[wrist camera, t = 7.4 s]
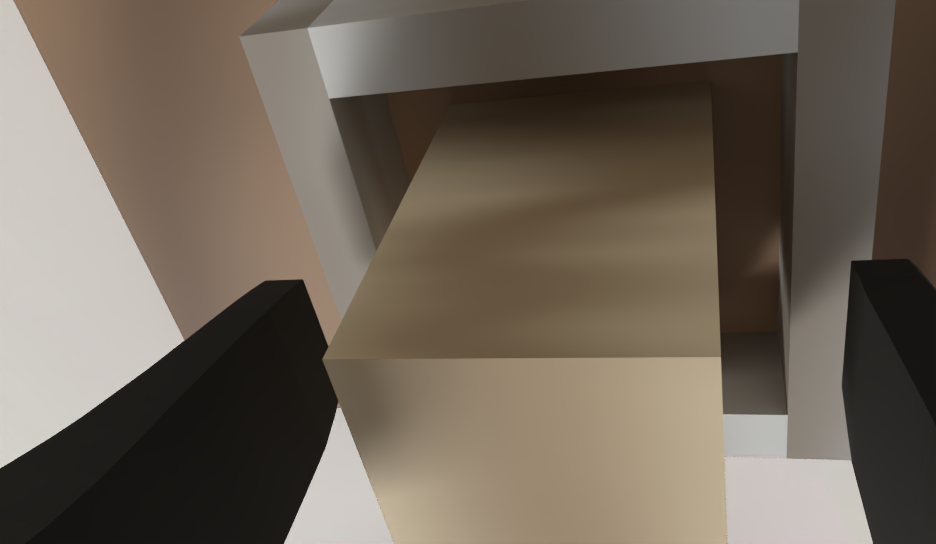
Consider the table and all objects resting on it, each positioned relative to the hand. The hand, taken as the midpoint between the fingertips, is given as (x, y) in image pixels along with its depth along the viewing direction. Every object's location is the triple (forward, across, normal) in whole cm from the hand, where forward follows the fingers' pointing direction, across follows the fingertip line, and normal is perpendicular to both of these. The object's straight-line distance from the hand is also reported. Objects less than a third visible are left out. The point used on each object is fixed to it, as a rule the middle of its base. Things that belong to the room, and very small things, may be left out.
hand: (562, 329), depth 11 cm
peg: (+3, 0, 0) cm, 3 cm away
